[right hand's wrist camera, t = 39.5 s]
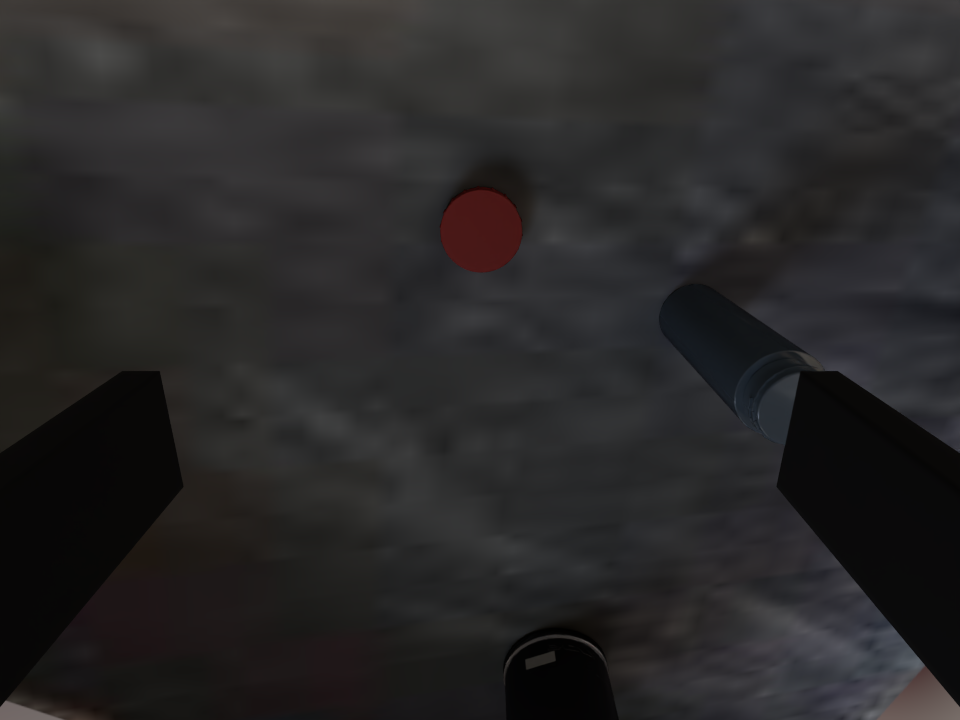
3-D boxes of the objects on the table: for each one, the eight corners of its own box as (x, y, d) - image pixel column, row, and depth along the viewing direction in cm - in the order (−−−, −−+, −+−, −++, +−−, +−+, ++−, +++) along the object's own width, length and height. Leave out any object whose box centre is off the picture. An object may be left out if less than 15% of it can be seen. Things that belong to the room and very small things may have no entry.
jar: (675, 357, 44) (770, 468, 30) (648, 304, 43) (734, 394, 28) (734, 326, 43) (862, 424, 29) (709, 271, 42) (830, 346, 27)
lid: (481, 168, 39) (481, 170, 37) (537, 228, 41) (540, 233, 39) (424, 226, 41) (421, 230, 39) (480, 282, 42) (480, 289, 40)
